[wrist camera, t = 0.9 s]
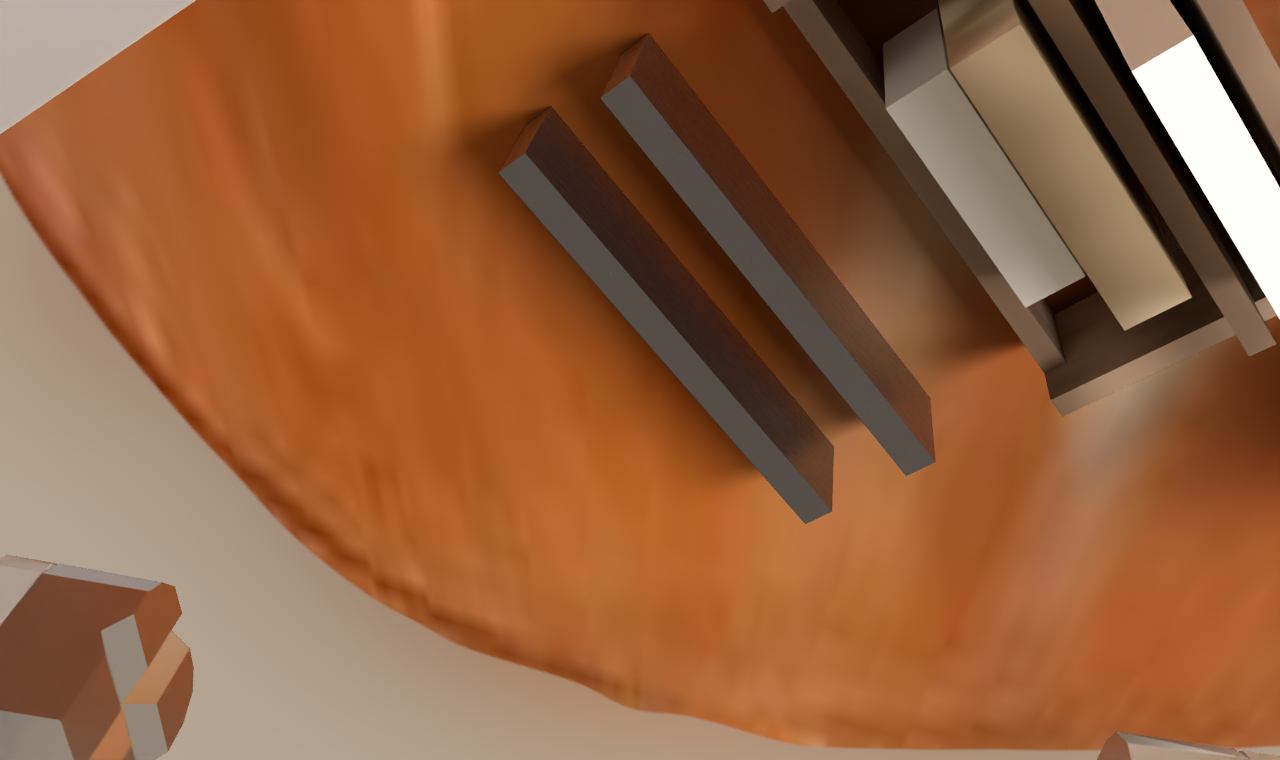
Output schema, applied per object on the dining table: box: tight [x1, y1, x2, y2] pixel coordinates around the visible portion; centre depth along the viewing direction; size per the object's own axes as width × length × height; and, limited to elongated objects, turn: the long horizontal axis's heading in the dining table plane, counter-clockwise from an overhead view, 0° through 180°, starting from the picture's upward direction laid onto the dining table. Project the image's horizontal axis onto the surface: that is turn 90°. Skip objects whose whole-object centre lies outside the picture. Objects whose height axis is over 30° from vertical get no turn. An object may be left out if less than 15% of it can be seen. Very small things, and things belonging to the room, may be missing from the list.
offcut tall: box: [938, 0, 1192, 331], centre depth 45 cm, size 2×12×10 cm, turn 39°
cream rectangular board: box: [1095, 0, 1280, 319], centre depth 39 cm, size 2×14×20 cm, turn 39°
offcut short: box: [883, 8, 1085, 308], centre depth 48 cm, size 2×10×7 cm, turn 38°
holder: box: [498, 33, 935, 524], centre depth 54 cm, size 7×22×5 cm, turn 39°
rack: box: [763, 0, 1280, 417], centre depth 44 cm, size 12×22×12 cm, turn 38°
